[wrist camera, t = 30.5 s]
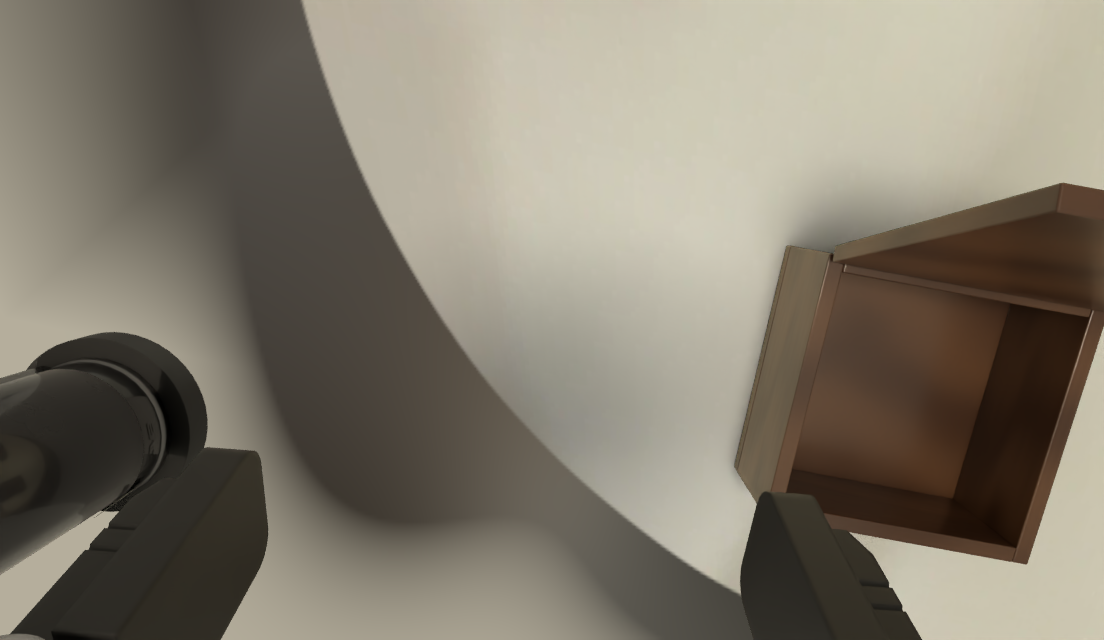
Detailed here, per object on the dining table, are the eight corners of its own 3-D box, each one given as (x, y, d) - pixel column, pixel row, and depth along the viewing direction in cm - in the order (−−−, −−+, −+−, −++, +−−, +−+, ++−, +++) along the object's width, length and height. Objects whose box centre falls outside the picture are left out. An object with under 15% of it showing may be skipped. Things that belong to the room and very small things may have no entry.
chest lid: (1572, 306, 18) (1577, 276, 18) (1056, 211, 18) (1062, 181, 18) (1117, 314, 32) (1120, 297, 32) (831, 262, 32) (834, 245, 32)
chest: (954, 507, 42) (1027, 565, 35) (733, 466, 42) (764, 516, 35) (1020, 287, 39) (1111, 304, 33) (786, 245, 39) (829, 253, 33)
